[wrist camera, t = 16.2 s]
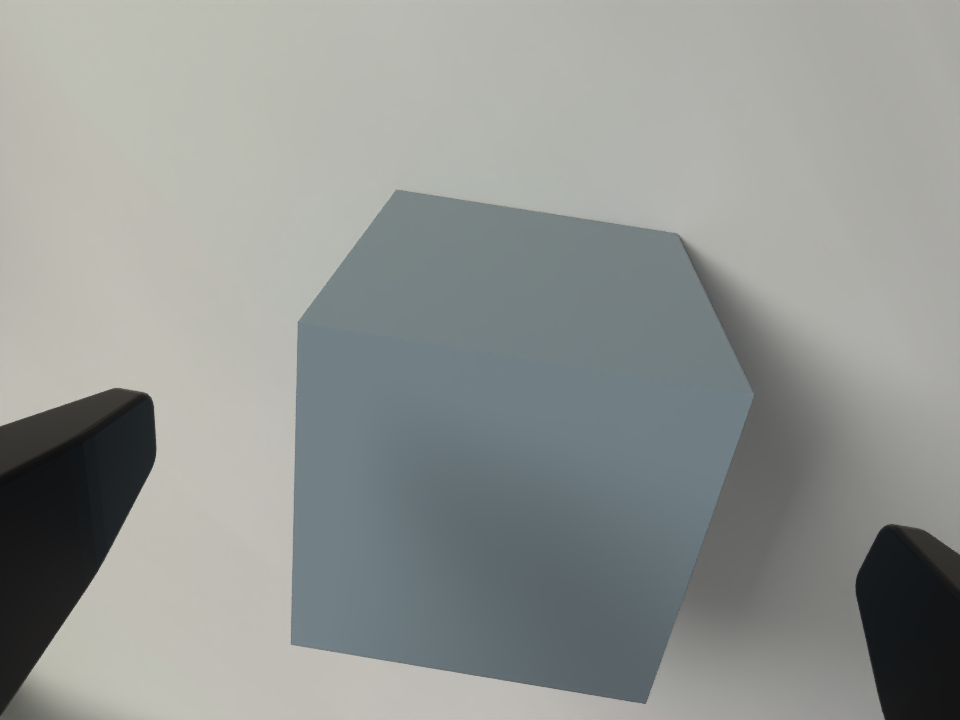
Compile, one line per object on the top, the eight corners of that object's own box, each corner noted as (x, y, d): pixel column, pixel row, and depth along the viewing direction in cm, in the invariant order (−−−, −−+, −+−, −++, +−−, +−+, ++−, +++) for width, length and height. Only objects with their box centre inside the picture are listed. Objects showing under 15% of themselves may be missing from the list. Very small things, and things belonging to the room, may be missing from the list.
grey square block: (616, 465, 24) (645, 703, 16) (376, 426, 24) (291, 644, 16) (677, 233, 20) (754, 394, 12) (396, 189, 20) (297, 321, 13)
